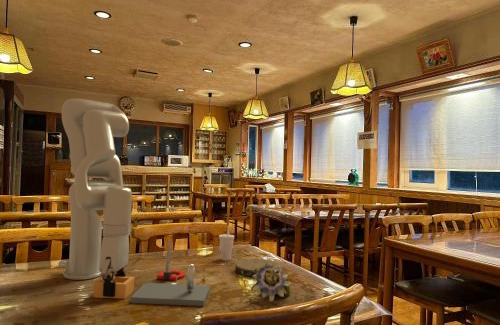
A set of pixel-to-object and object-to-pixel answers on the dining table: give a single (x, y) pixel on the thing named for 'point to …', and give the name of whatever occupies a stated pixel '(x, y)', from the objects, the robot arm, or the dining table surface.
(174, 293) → the board
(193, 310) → the dining table surface
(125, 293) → the wooden masu cup
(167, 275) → the tow hook
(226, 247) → the smoothie
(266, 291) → the passion flower
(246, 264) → the wood slice
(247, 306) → the dining table surface
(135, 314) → the dining table surface
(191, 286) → the post
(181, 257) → the dining table surface
